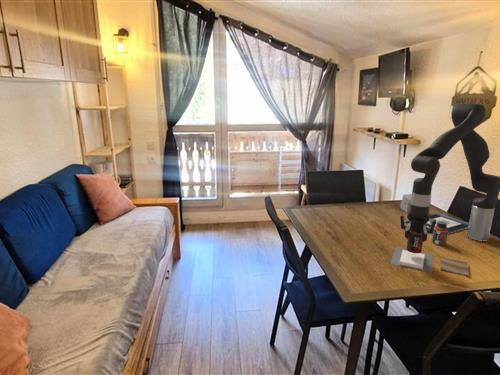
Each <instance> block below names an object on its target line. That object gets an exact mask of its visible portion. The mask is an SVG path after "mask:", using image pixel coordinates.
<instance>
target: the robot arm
mask: <svg viewBox="0 0 500 375" xmlns="http://www.w3.org/2000/svg"><path fill="white" fill-rule="evenodd" d="M485 117H486V108H485V106H484V105H483V104H481V103H458V104H456V105H454V106H453V108H452V110H451V121H452V123H453V128H451V129H449V130H447V131H444V132H443V133H442V134H440V135H439V136H437V137H436V139H435V140H434V141H433V142H432V143H431V144H430V145H429V146H428V147H426V148H425V149H423V150H421V151H420V152H418V154H416V155H415V156H414V157H413V158H412V160H411V162H410V163H411V164H410V168H411V170H412V171H414V172H416V173H420V174H424V177H418V178H415V179H414V180H413V184H412V191H411V194H412V195H411V200H410V208H409V213H407V214H403V213H402V214H401V215H400V228H401V230H404V238H406V240H408V233H409V229H410V226H411V222H409V224H408V225H406V224H404V222H405V221H410V220H411V218H413V219H415V220H416V219H420V220H425V225H424V227H423V229H424V236H423V242H424V243H425V242H426V241H427V239H428V235H431V234H432V233H433V230H434V227H435V224H436V219H430V218H429V215H430V209H431V208H430V207H431V201H432V190H433V184H434V182H435V180H436V177H437V176H438V174H439V171H440V167H441V163H440V160H442V159H444V158H445V157H446V156H447V155H448V154H449V152H450V151H451V150H452V148H454V146H455V145H456V144H457V143H458V142H460V143H461V146H462V148H463V149H462V150H463V153H464V156H465V159H466V162H467V165H468V170H469V176H470V182H471V187H472V189H473V190H474V191H475V192H479V193H484V194H486V195H485V197H478V198H474V199H473V200H472V205H471V212H470V216H469V221H468V223H469V226H468V229H467V233H466V238H468V237H469V238H468V239H470V238H471V239H470V240H472V239H474V240H473V241H475V240H482V241H483V240H488V241H489V238H490V232H491V228H492V224H493V223H492V222H493V219H494V215H495V214H494V213H495V208H496V204H497V202H498V200H499V199H498V198H499V194H500V176H498V175H494V174H489V173H484V171H483V167H484V165H485V164H486V163H487V161H489V158H490V150H489V145H488V143H487V141H486V140H485V139H484V138H483V137H482V136H481V134H479V133H478V132H477V131H475V129H476V128H477V127H478V126H480V125H481V123H482V122H483V120H484V119H485ZM406 219H407V220H406ZM428 221H430V224H431V227H430V230H427V227H426V223H427V222H428ZM429 233H430V234H429ZM482 241H481V242H482Z"/></svg>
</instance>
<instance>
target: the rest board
mask: <svg viewBox="0 0 500 375" xmlns="http://www.w3.org/2000/svg"><path fill="white" fill-rule="evenodd" d="M468 265H469V264H468V262H467V261H464V260H463V261H462V260H458V259H457V260H456V259H453V258H452V259H451V258H448V257H442V256H441V257H440V271H441V272H447V273H451V274H456V275H460V276H464V277H465V278H469V277H470V272H469V271H470V270H469V266H468Z"/></svg>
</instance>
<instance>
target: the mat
mask: <svg viewBox="0 0 500 375" xmlns="http://www.w3.org/2000/svg"><path fill="white" fill-rule="evenodd" d="M403 250H406V251H407V249H406V248H400V247H394V251H393V254H392V257H391V260H390V265H394V266H399V267H405V268H408V269H412V270H418V271H421V272H422V271H423V272H424V273H425V272H426V273H430V274H433V266H434V265H433V264H434V254H432V253H426V252H422V251H421V254H425V256H424V264H423V269H418V268H414V267H409V266H405V265H400V264H399V263H400V258H401V255H402V251H403Z"/></svg>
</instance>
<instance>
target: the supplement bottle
mask: <svg viewBox="0 0 500 375" xmlns="http://www.w3.org/2000/svg"><path fill="white" fill-rule="evenodd" d="M448 235H449V234H448V228H447V223H446V222H442V221H438V223H437V225H436V226H435V227H434V233H433V235H432V240H431V243H432V244H433V245H435V246H440V247H443V246H446V244H447V238H448Z"/></svg>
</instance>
